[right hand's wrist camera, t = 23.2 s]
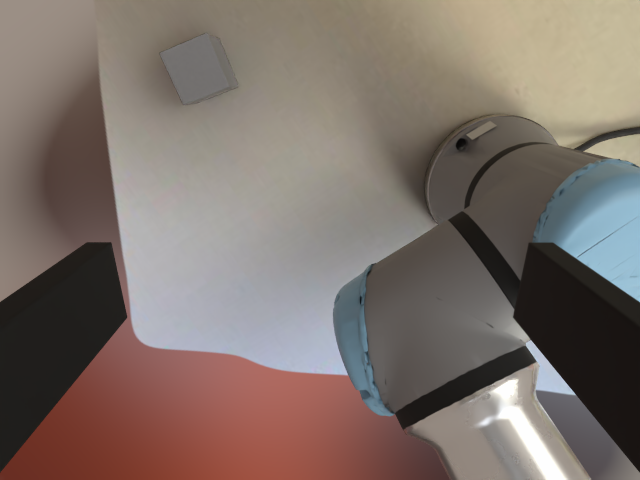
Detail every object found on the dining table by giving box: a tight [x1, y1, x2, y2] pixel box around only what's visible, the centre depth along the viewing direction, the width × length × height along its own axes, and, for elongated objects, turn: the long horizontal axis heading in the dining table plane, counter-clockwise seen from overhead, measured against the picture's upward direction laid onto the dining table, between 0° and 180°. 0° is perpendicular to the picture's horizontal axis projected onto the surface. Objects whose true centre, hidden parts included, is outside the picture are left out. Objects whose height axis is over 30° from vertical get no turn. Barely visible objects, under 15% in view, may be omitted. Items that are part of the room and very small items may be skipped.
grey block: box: [159, 33, 239, 105], centre depth 40 cm, size 5×5×5 cm
